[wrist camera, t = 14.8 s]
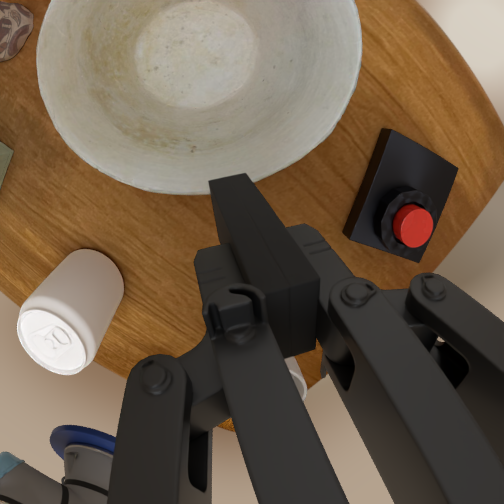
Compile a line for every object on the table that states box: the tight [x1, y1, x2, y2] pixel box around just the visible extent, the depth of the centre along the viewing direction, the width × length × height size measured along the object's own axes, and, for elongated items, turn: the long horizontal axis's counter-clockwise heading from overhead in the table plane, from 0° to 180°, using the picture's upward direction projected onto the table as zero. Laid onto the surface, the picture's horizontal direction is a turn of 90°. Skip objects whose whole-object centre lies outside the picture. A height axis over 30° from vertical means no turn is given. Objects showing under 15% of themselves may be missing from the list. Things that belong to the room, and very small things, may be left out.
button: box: [393, 204, 433, 247], centre depth 28 cm, size 4×4×2 cm
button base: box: [343, 128, 458, 263], centre depth 30 cm, size 12×10×4 cm
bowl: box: [36, 0, 362, 195], centre depth 20 cm, size 24×24×10 cm
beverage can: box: [17, 249, 124, 375], centre depth 27 cm, size 8×8×12 cm
